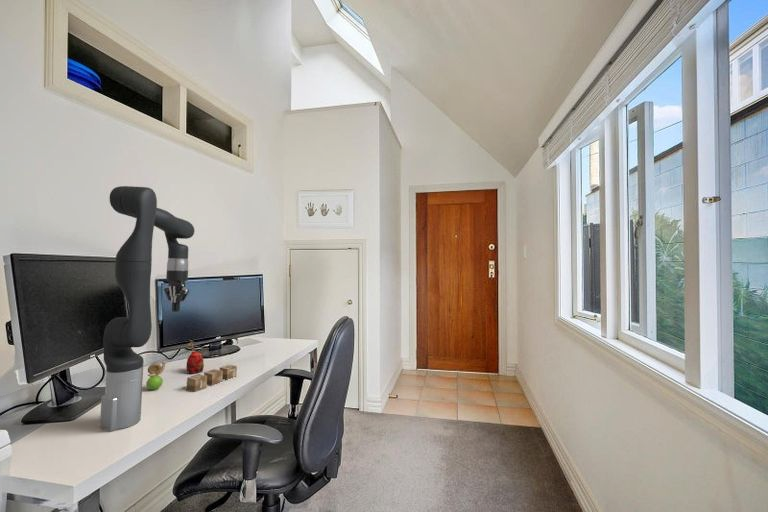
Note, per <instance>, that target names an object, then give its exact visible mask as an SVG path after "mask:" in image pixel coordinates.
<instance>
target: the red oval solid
mask: <svg viewBox="0 0 768 512" xmlns="http://www.w3.org/2000/svg"><path fill="white" fill-rule="evenodd" d="M189 341H190V343H187V345H188V346H191V349H192V352H191V354H190V355H189V356H188V358H187V359H186V360H187V361H186V366H185V367H186V372H187V373H188V374H190V375H191V374H192V375H194V374H195V375H196V374H198V373H201V372H203V371H204V367H205V363H204V359H203V357H202V354H201V353H200V351H198V352H197V351H196V352H195V350H194V349H195V348H194V345H193V343H194V341H192V340H191V339H189Z"/></svg>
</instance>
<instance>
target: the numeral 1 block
mask: <svg viewBox="0 0 768 512" xmlns="http://www.w3.org/2000/svg"><path fill="white" fill-rule="evenodd" d="M207 386H208V385H207V376H205V375H204V374H201V373H200V374H198V373H196V374H195V375H194V374H193V375H192V376H191V375H190V376H188V377H186V390H187V391H188V392H193V393H196V392H199V391H202V390H205V389H207Z"/></svg>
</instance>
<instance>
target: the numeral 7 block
mask: <svg viewBox="0 0 768 512" xmlns="http://www.w3.org/2000/svg"><path fill="white" fill-rule="evenodd" d="M218 370H221V371H223V376H222V380H223V379H225V380H224V381H229V380H228V379H230V380H232V379H234V378H233V377H235V378H237V377H236V376H237V374H238V373H237V372H238V371H237V370H238V366H237V365H233V364H227V365H223V366H219V369H218ZM231 378H232V379H231Z"/></svg>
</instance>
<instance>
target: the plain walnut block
mask: <svg viewBox="0 0 768 512" xmlns="http://www.w3.org/2000/svg"><path fill="white" fill-rule="evenodd" d="M203 375H205V376H207V386H210V385H211V386H210V387H213V386H216V385H219V384H221V383H220V382H222V383H223V379H222V376H223V371H221V370H219V369H216V368H214V369H211V370H208V371H204V372H203ZM218 383H219V384H218ZM215 384H216V385H215Z"/></svg>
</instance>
